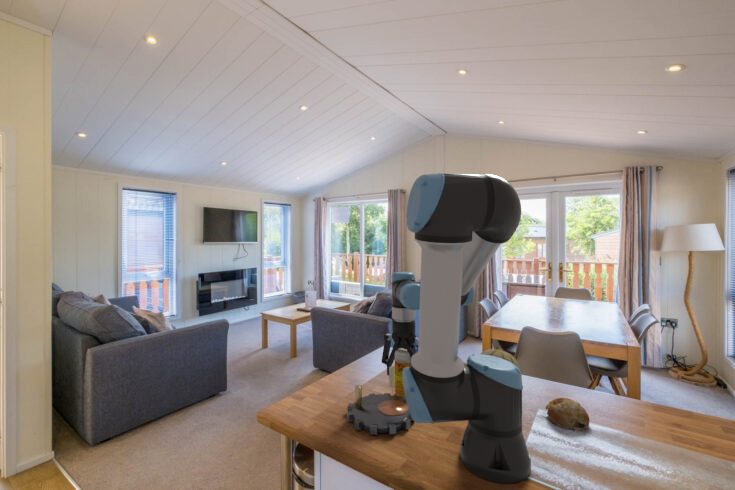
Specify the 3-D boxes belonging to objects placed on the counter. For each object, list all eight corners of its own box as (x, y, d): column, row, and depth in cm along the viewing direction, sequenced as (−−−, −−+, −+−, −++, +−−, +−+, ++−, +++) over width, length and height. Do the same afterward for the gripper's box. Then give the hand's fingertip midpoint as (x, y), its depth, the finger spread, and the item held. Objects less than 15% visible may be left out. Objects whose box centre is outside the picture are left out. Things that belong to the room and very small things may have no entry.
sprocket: (418, 403, 104) (418, 376, 104) (411, 440, 85) (410, 407, 85) (357, 397, 109) (357, 371, 109) (337, 430, 90) (337, 399, 90)
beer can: (393, 398, 109) (392, 352, 108) (397, 390, 115) (396, 346, 114) (412, 400, 107) (411, 353, 107) (415, 392, 113) (414, 347, 113)
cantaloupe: (476, 403, 105) (476, 355, 105) (471, 383, 120) (470, 341, 119) (527, 406, 102) (527, 357, 102) (515, 386, 117) (515, 342, 117)
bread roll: (561, 443, 90) (572, 423, 87) (535, 410, 99) (544, 390, 95) (590, 437, 93) (602, 417, 89) (562, 405, 102) (572, 386, 98)
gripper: (438, 320, 108) (439, 391, 108) (381, 313, 119) (382, 377, 120) (429, 326, 101) (430, 401, 102) (370, 317, 113) (370, 385, 113)
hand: (404, 388), depth 111 cm, fingers open, 8 cm apart
